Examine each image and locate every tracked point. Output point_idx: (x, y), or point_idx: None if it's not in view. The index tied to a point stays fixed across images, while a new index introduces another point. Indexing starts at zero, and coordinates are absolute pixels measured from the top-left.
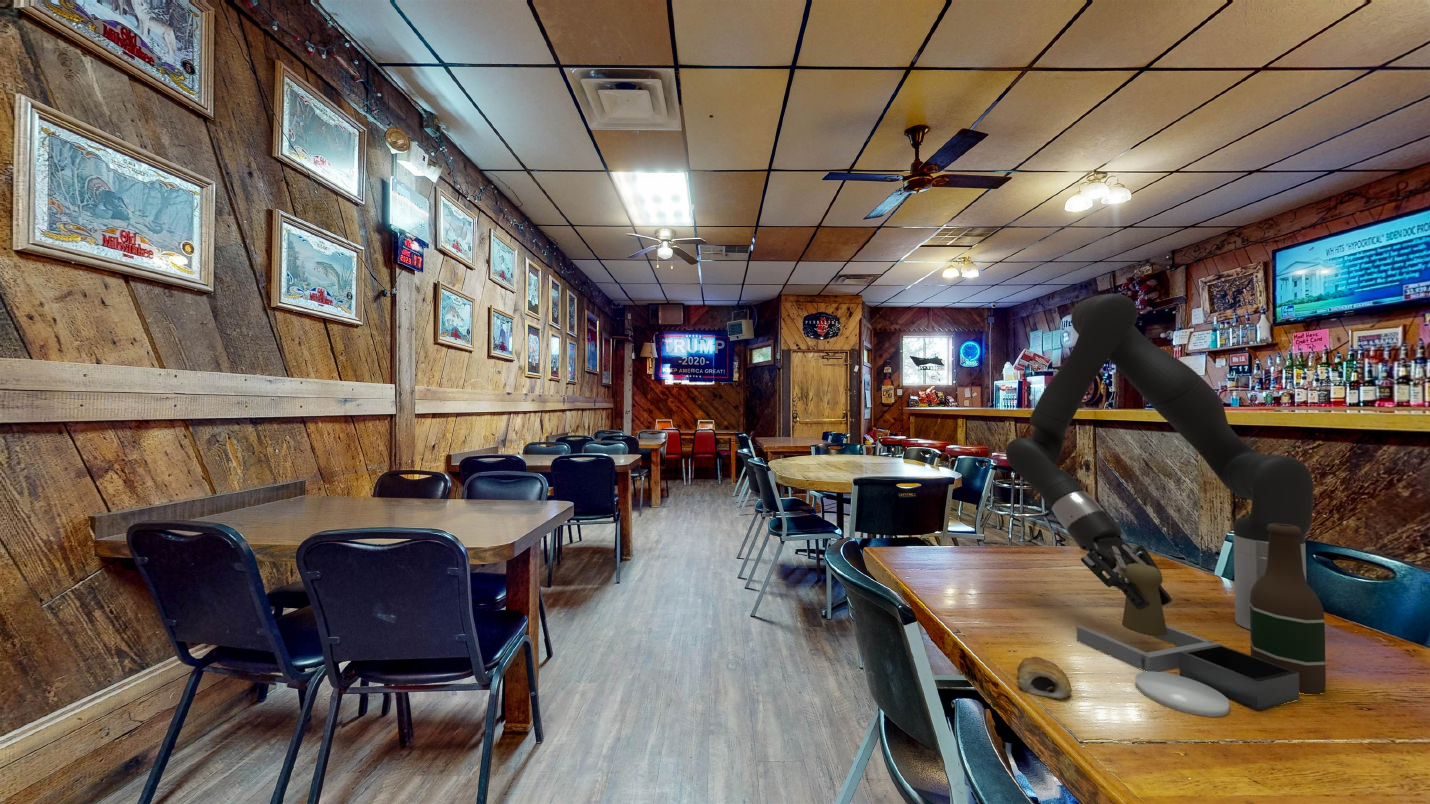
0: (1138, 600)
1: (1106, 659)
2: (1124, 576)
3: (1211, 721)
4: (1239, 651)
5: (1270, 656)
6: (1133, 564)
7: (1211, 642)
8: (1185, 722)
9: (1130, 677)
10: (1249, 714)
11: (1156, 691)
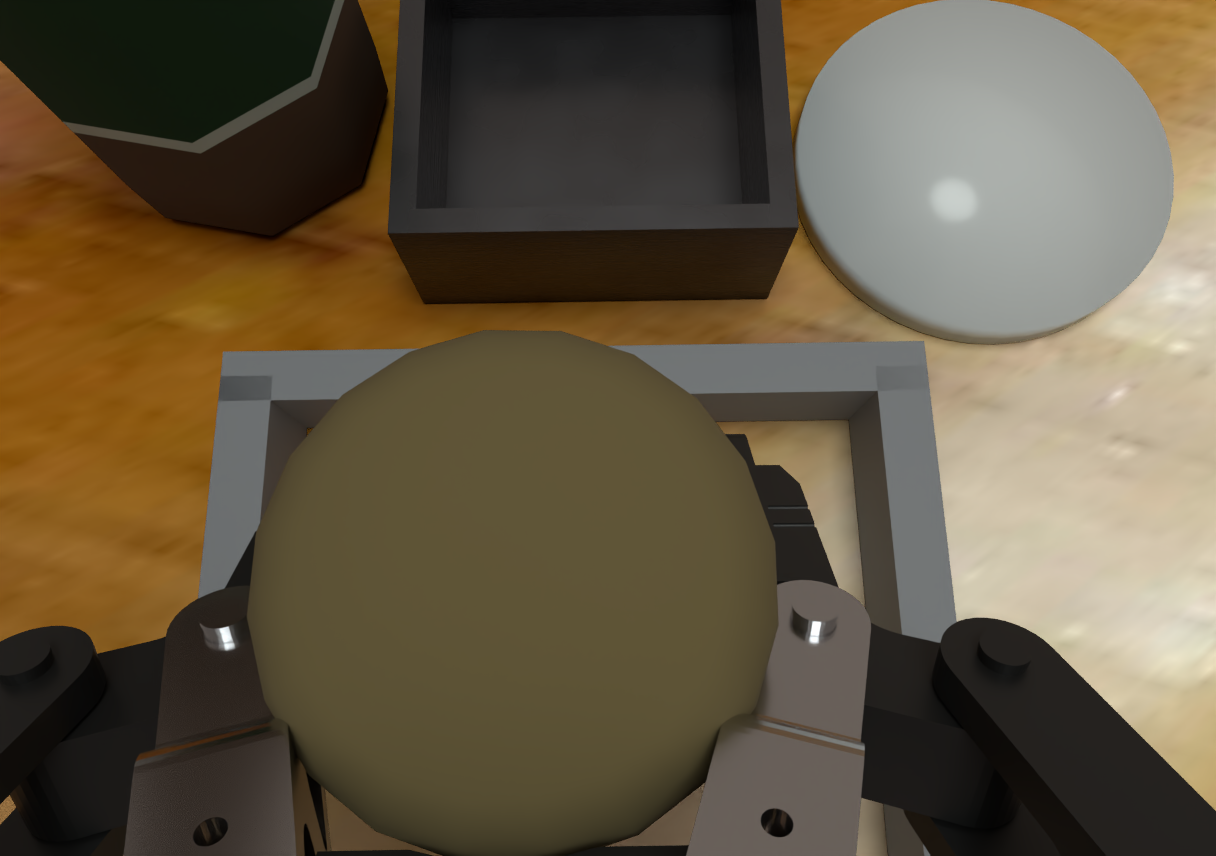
0: (795, 481)
1: (987, 576)
2: (834, 661)
3: (1046, 14)
4: (394, 133)
5: (341, 10)
6: (588, 690)
7: (243, 383)
8: (1173, 36)
9: (1048, 372)
10: (811, 6)
11: (1135, 172)
